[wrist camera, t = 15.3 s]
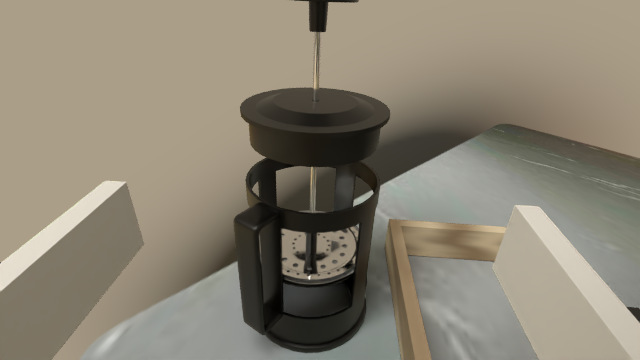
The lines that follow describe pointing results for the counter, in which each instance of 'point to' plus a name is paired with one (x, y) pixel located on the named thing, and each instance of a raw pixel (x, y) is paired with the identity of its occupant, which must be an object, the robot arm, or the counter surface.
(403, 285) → the wooden frame
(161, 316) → the counter surface
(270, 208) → the french press
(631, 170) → the counter surface
